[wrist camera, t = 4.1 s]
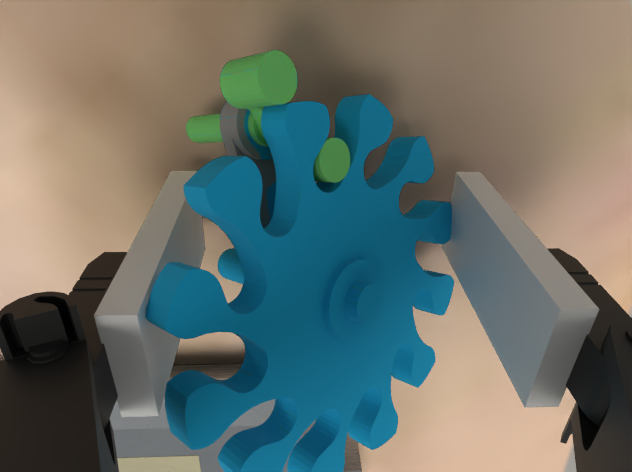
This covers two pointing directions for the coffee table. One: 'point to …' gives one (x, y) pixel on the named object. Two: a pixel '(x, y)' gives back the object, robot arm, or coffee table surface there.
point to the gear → (303, 274)
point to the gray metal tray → (172, 454)
